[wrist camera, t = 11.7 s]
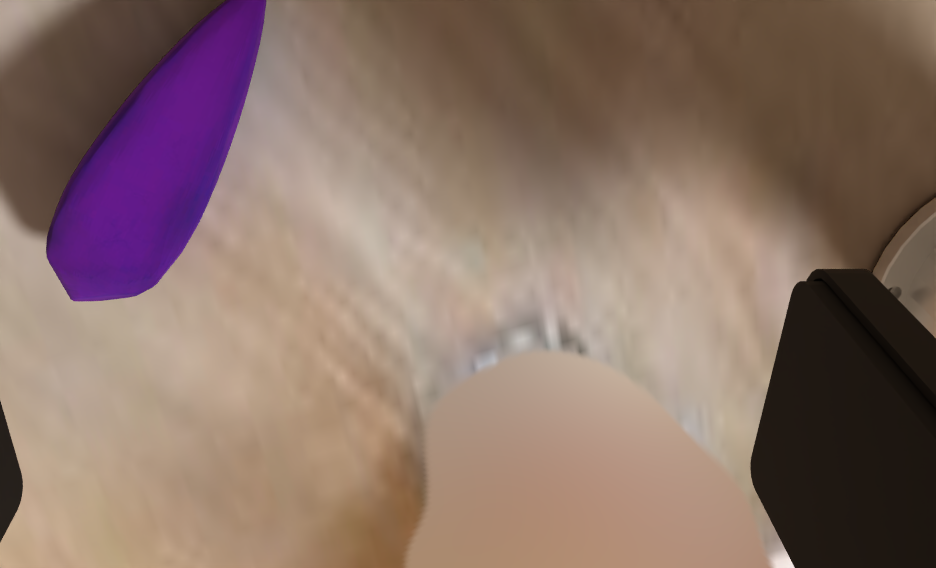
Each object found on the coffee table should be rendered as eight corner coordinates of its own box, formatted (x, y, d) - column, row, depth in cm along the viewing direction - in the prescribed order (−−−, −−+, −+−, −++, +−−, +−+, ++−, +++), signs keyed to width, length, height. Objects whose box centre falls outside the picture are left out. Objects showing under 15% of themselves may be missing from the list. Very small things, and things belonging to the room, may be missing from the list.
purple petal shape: (317, 34, 31) (121, 356, 35) (316, 13, 35) (142, 301, 39) (191, -48, 29) (0, 302, 33) (206, -60, 33) (36, 251, 37)
